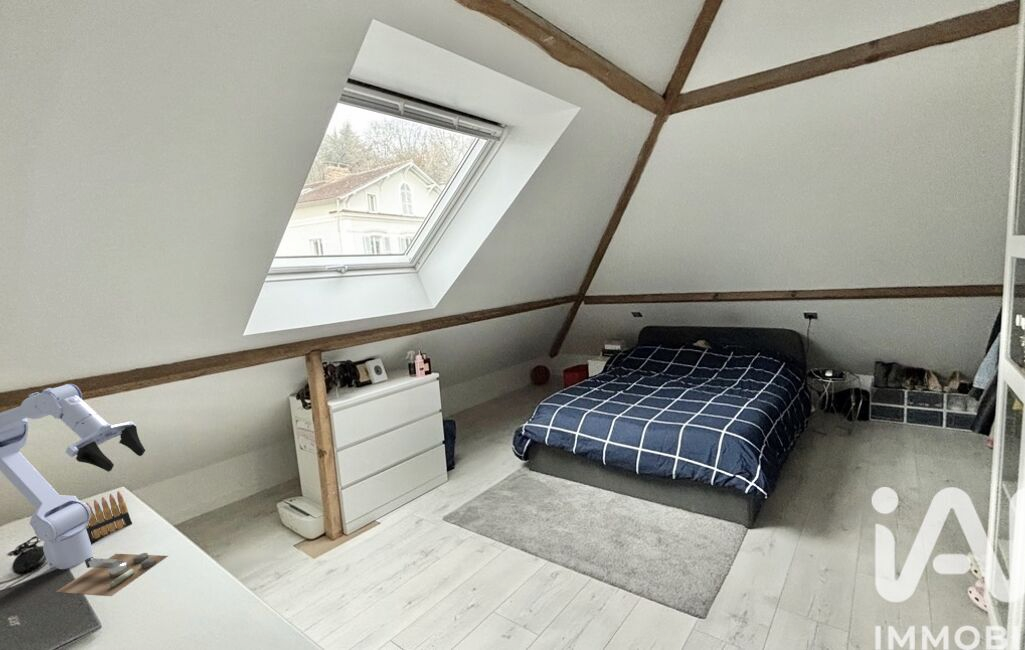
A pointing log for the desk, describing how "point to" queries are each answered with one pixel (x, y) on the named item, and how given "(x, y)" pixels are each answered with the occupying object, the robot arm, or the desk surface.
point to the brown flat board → (103, 584)
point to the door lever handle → (108, 565)
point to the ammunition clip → (107, 518)
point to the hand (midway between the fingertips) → (127, 460)
